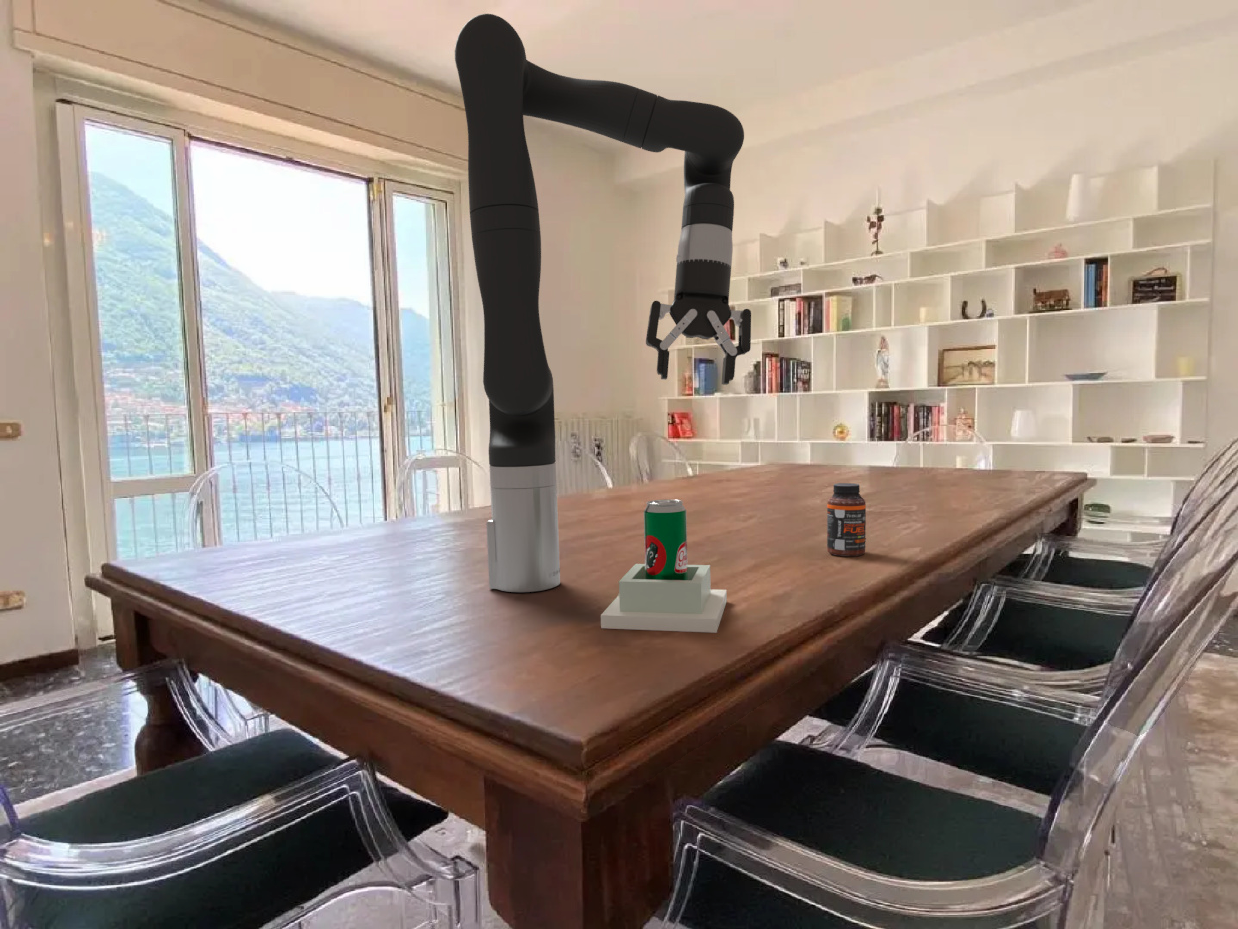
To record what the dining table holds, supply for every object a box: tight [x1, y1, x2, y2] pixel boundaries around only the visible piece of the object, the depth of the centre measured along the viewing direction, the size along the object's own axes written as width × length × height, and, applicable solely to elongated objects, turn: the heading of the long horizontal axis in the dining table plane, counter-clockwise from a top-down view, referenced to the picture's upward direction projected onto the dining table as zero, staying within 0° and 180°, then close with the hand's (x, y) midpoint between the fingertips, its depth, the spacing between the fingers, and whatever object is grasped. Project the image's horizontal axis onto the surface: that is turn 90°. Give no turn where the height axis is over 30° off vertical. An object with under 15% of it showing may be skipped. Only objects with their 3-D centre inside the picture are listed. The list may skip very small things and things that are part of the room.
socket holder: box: [600, 563, 728, 634], centre depth 90 cm, size 13×13×5 cm
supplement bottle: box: [826, 482, 867, 557], centre depth 121 cm, size 6×6×11 cm
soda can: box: [643, 499, 689, 580], centre depth 89 cm, size 5×5×12 cm
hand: (694, 381), depth 104 cm, fingers open, 8 cm apart
